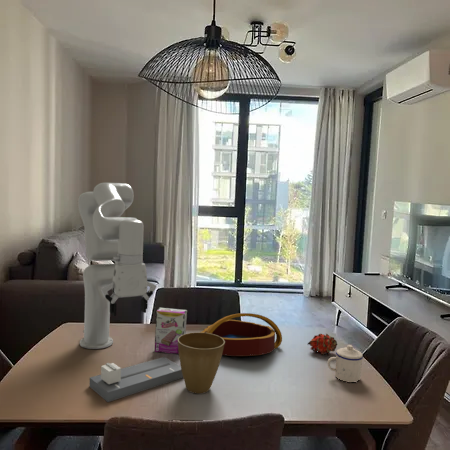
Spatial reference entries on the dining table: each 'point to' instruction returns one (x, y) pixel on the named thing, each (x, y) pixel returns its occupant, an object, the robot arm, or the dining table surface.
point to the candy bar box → (169, 329)
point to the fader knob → (110, 373)
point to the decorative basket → (246, 335)
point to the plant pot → (199, 359)
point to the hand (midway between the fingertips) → (128, 313)
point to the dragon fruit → (323, 343)
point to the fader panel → (137, 379)
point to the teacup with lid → (347, 364)
